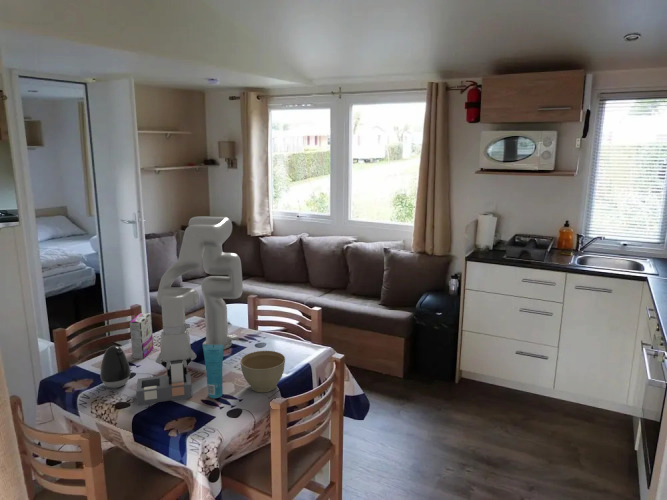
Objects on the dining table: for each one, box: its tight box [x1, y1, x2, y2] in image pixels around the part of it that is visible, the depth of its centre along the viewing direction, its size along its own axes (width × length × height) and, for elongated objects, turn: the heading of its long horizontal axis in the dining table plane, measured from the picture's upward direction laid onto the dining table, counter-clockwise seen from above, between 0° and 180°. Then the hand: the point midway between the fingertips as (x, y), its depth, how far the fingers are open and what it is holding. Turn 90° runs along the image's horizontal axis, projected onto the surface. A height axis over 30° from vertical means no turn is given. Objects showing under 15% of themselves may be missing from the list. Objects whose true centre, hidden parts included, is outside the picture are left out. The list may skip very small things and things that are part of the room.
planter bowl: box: [240, 350, 286, 393], centre depth 181 cm, size 16×16×11 cm
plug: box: [170, 360, 184, 384], centre depth 176 cm, size 4×4×10 cm
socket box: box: [135, 371, 193, 406], centre depth 175 cm, size 18×10×5 cm, turn 108°
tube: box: [202, 343, 225, 399], centre depth 174 cm, size 7×5×19 cm, turn 96°
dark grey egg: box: [100, 345, 131, 389], centre depth 181 cm, size 10×10×15 cm
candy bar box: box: [128, 312, 155, 360], centre depth 209 cm, size 11×5×16 cm, turn 179°
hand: (177, 376), depth 176 cm, fingers closed on plug, 3 cm apart
